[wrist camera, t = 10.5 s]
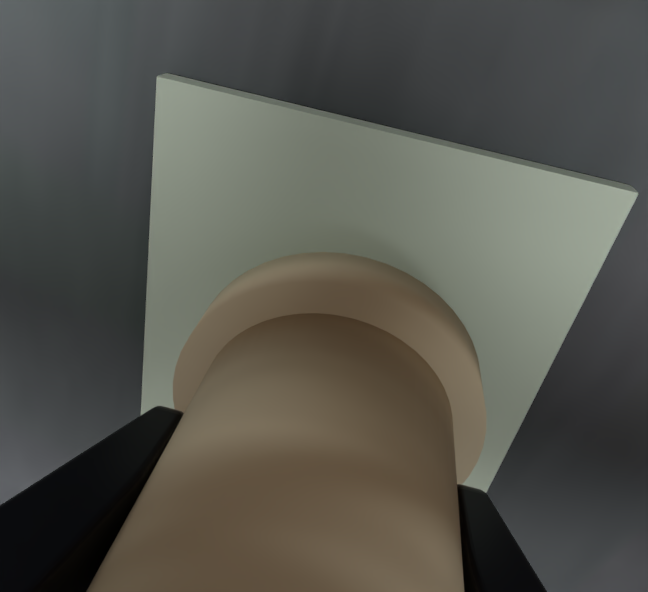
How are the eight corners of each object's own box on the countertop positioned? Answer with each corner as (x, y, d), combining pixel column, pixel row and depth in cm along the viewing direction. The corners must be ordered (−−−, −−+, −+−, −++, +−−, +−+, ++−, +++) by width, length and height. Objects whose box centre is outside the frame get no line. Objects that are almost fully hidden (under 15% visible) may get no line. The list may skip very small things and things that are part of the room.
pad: (631, 184, 9) (638, 193, 9) (472, 504, 13) (474, 517, 13) (166, 72, 10) (157, 76, 9) (147, 419, 14) (139, 430, 13)
